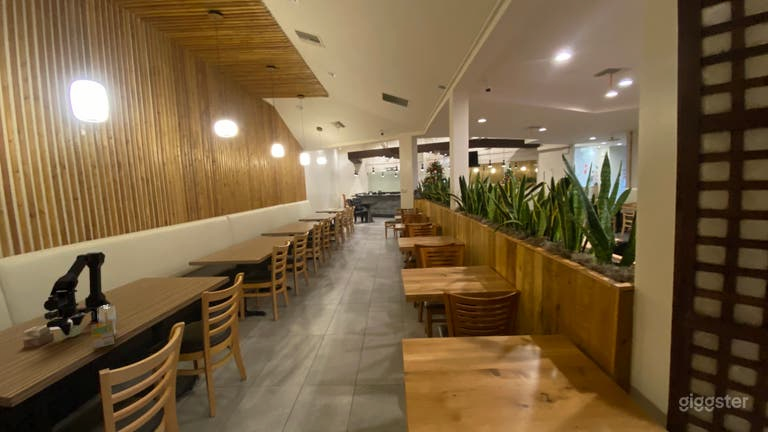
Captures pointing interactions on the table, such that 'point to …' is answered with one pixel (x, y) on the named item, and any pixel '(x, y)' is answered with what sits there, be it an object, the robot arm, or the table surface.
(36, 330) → the maple brick
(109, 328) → the crayon box
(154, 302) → the table surface
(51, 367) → the table surface
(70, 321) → the page
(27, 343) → the walnut base brick
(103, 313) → the beer glass
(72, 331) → the sage brick
